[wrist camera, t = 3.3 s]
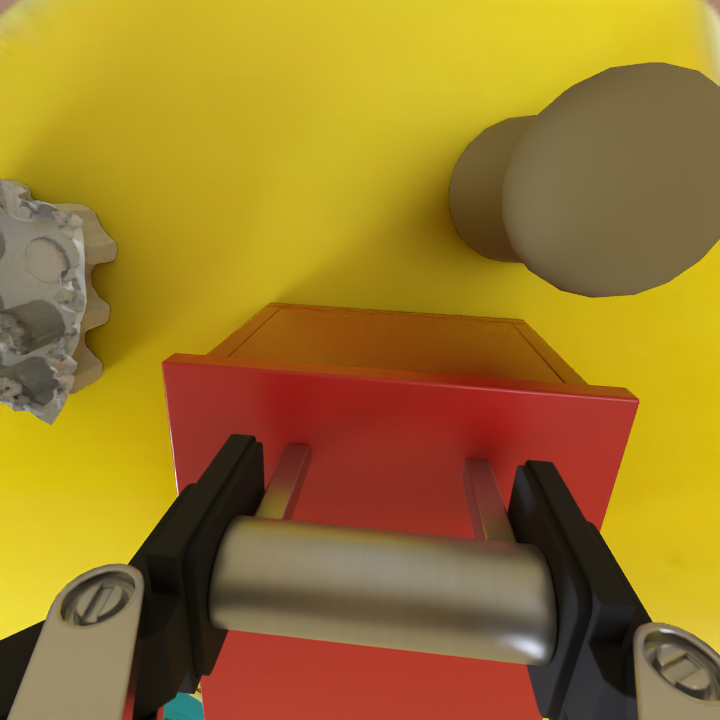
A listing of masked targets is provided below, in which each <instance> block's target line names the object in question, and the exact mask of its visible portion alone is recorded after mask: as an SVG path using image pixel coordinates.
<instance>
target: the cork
mask: <svg viewBox="0 0 720 720" xmlns="http://www.w3.org/2000/svg"><path fill="white" fill-rule="evenodd" d="M449 210H450V214H451V217H452V219H453V222H454V225H455V228H456V231H457V232H458V233H459V235H460V236H461V237H462V239H463V240H464V241H465V242H466V244H467V245H468V246H469V247H470V248H472V249H473V250H475V251H476V252H478V253H479V254H481V255H483V256H484V257H486V258H490V259H494V260H498V261H503V262H512V263H524V264H525V266H526V267H527V268H528V270H530V271H531V272H533V273H534V274H536V275H537V276H539V277H540V278H542V279H544V280H545V281H547V282H548V283H550V284H551V285H553V286H555V287H556V288H558V289H559V290H561V291H566V292H570V293H574V294H578V295H582V296H587V297H609V296H622V295H635V294H638V293H640V292H643V291H646V290H649V289H651V288H654V287H657V286H660V285H662V284H665V283H668V282H669V281H671V280H672V279H674V278H675V277H677V276H678V275H680V274H681V273H683V272H684V271H685V270H687V269H688V268H690V267H691V266H693V265H694V264H696V263H697V262H699V261H700V260H701V259H702V258H703V257H704V256H705V255H706V254H707V253H708V251H709V250H710V249H711V248H712V247H713V246H714V245H715V244H716V242H717V241H718V240H719V239H720V87H719V86H718V85H717V84H715V83H714V82H713V81H711V80H710V79H709V78H707V77H706V76H705V75H703V74H702V73H701V72H699V71H696V70H692V69H688V68H683V67H679V66H675V65H671V64H666V63H643V64H635V65H627V66H620V67H612V68H609V69H607V70H605V71H602V72H600V73H598V74H596V75H594V76H592V77H590V78H588V79H586V80H583V81H581V82H579V83H577V84H575V85H573V86H571V87H570V88H569V89H567V90H566V91H564V92H563V93H562V94H561V95H560V96H559V97H557V98H556V99H555V100H554V101H553V102H552V103H551V104H549V105H548V106H547V107H546V108H545V109H544V110H543V111H542V112H540V113H539V114H538V115H533V116H525V117H516V118H508V119H506V120H504V121H502V122H500V123H497V124H495V125H493V126H491V127H489V128H487V129H485V130H484V131H483V132H482V133H481V134H480V135H479V136H478V137H477V138H475V139H474V140H473V141H472V142H471V143H470V144H469V145H468V146H467V148H466V149H465V151H464V153H463V154H462V156H461V157H460V159H459V161H458V162H457V164H456V166H455V169H454V172H453V176H452V179H451V183H450V187H449Z"/></svg>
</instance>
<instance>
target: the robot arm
mask: <svg viewBox="0 0 720 720" xmlns="http://www.w3.org/2000/svg"><path fill="white" fill-rule="evenodd" d="M264 492H265V483H264V454H263V443H262V442H256V437H255V436H254V435H242V434H231V435H230V436H229V438H228V439H227V441H226V442H225V443H224V445H223V446H222V448H221V449H220V450H219V452H218V453H217V455H216V456H215V457H214V459H213V460H212V462H211V463H210V464H209V466H208V467H207V469H206V470H205V472H204V473H203V474H202V476H201V477H200V479H199V480H198V481H197V483H190V484H188V485H187V486H186V487H185V488H184V489H183V490H182V492H181V493H180V495H179V496H178V497H177V499H176V500H175V501H174V503H173V504H172V505H171V507H170V508H169V509H168V511H167V512H166V513H165V515H164V516H163V518H162V519H161V520H160V522H159V523H158V524H157V526H156V527H155V528H154V530H153V531H152V532H151V534H150V535H149V536H148V538H147V539H146V540H145V542H144V543H143V545H142V546H141V547H140V549H139V550H138V551H137V553H136V554H135V555H134V557H133V558H132V559H131V561H130V562H129V563H128V565H125V564H108V565H104V566H101V567H97V568H94V569H92V570H90V571H87V572H85V573H83V574H81V575H79V576H78V577H77V578H75V579H74V580H72V581H71V582H70V583H68V584H67V585H66V586H65V587H64V588H63V589H62V590H61V591H60V592H59V593H58V594H57V596H56V598H55V600H54V601H53V603H52V605H51V607H50V610H49V612H48V615H47V617H46V620H44V621H41V622H39V623H37V624H35V625H33V626H31V627H29V628H26V629H24V630H22V631H20V632H18V633H16V634H13V635H11V636H9V637H7V638H5V639H3V640H0V720H163V712H164V705H165V704H167V703H168V702H170V701H171V700H173V699H174V698H176V695H177V693H178V692H179V693H187V694H195V692H196V690H197V687H198V685H199V682H200V680H201V677H202V675H203V676H209V675H210V674H211V673H212V671H213V669H214V666H215V664H216V661H217V659H218V656H219V654H220V651H221V649H222V646H223V644H224V641H225V639H226V636H227V633H228V631H229V630H227V629H219V628H215V627H213V626H212V625H211V623H210V622H209V618H208V610H207V598H208V587H209V580H210V574H211V569H212V565H213V561H214V557H215V553H216V550H217V547H218V544H219V542H220V539H221V537H222V534H223V532H224V530H225V528H226V526H227V525H228V523H229V522H230V521H231V519H232V518H234V517H235V516H238V515H244V516H254V514H255V512H256V510H257V507H258V505H259V503H260V501H261V499H262V496H263V494H264ZM507 514H508V517H509V519H510V522H511V525H512V528H513V531H514V534H515V537H516V540H517V543H523V544H533V545H535V546H537V547H539V548H540V549H541V550H542V551H543V553H544V555H545V556H546V558H547V561H548V563H549V566H550V569H551V572H552V576H553V580H554V584H555V590H556V596H557V605H558V638H557V645H556V650H555V654H554V656H553V659H552V661H551V662H550V663H549V664H548V665H545V666H535V665H526V666H527V670H528V674H529V677H530V681H531V685H532V688H533V692H534V696H535V700H536V703H537V707H538V710H539V713H540V715H541V716H542V717H543V718H549V720H720V655H719V654H718V653H717V652H716V651H715V650H714V649H712V648H711V647H710V646H709V645H708V644H706V643H705V642H703V641H702V640H701V639H699V638H698V637H696V636H695V635H693V634H691V633H689V632H687V631H685V630H683V629H681V628H679V627H676V626H672V625H669V624H665V623H655V622H652V620H651V618H650V617H649V615H648V613H647V612H646V610H645V608H644V607H643V605H642V603H641V602H640V600H639V598H638V597H637V595H636V593H635V591H634V590H633V588H632V586H631V585H630V583H629V581H628V580H627V578H626V576H625V575H624V573H623V571H622V570H621V568H620V566H619V565H618V563H617V561H616V559H615V558H614V556H613V554H612V553H611V551H610V549H609V548H608V546H607V544H606V543H605V541H604V539H603V538H602V536H601V534H600V532H599V531H598V529H597V528H596V526H595V525H594V524H593V523H591V522H590V521H587V520H586V519H585V517H584V515H583V514H582V512H581V510H580V508H579V507H578V505H577V503H576V501H575V500H574V498H573V496H572V494H571V493H570V491H569V489H568V487H567V486H566V484H565V482H564V480H563V479H562V477H561V475H560V474H559V472H558V470H557V468H556V467H555V465H554V464H553V462H548V461H537V460H527V461H526V462H525V464H524V465H518V467H517V469H516V473H515V478H514V483H513V488H512V492H511V497H510V502H509V507H508V512H507Z"/></svg>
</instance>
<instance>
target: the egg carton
mask: <svg viewBox="0 0 720 720" xmlns="http://www.w3.org/2000/svg"><path fill="white" fill-rule="evenodd" d="M116 256H117V245H116V242H115V241H114V240H113V239H112V238H110V237H109V235H108V234H107V233H106V232H105V231H104V230H103V229H102V227H101V225H100V223H99V221H98V218H97V215H96V213H95V212H94V210H92V209H90V208H88V207H86V206H84V205H83V204H81V203H46V202H43V201H40V200H35V199H32V196H31V191H30V188H29V187H28V186H26V185H25V184H22V183H20V182H18V181H15V180H11V179H0V402H1V403H4V404H6V405H8V406H9V407H11V408H12V409H13V410H14V411H30V412H31V413H33V414H34V415H35V416H36V417H38V418H39V419H41V420H42V421H44V422H46V423H48V424H50V425H51V424H52V423H53V422H54V421H55V419H56V418H57V416H58V414H59V413H60V411H61V410H62V408H63V406H64V404H65V401H66V399H67V396H68V394H73V393H76V392H77V391H79V390H81V389H82V388H84V387H85V386H87V385H89V384H91V383H93V382H95V381H96V380H97V379H99V378H100V377H101V376H102V370H103V363H102V361H101V360H99V359H97V358H96V357H95V356H94V355H93V353H92V352H91V351H90V349H88V348H87V347H86V344H85V333H86V331H88V330H90V329H92V328H95V327H97V326H100V325H102V324H105V323H107V322H108V319H109V317H110V308H111V307H110V306H109V304H108V303H106V302H105V301H104V300H102V299H101V298H100V297H99V296H98V294H97V292H96V290H95V289H94V288H93V286H92V279H91V273H92V270H93V268H94V267H95V265H96V264H100V263H106V262H110V261H114V260H115V258H116Z"/></svg>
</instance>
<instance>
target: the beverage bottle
mask: <svg viewBox="0 0 720 720" xmlns="http://www.w3.org/2000/svg"><path fill="white" fill-rule="evenodd" d="M163 720H204V712H203V704H202V695H201V693H199V692H198V691H196V692H195V694H187V693H179V692H178V693H177V695H176V698H174V699H173V700H171V701H170V702H168V703H167V704H165V705H164V712H163Z"/></svg>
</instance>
